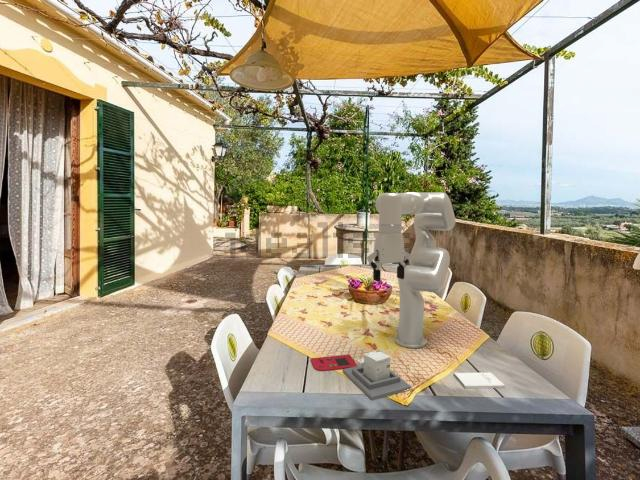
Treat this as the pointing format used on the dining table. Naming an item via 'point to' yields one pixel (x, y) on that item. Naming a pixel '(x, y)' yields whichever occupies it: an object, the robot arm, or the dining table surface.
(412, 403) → the dining table surface
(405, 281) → the robot arm
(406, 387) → the charging dock
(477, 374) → the external hard drive
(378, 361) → the skincare box
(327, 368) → the handheld gaming console
